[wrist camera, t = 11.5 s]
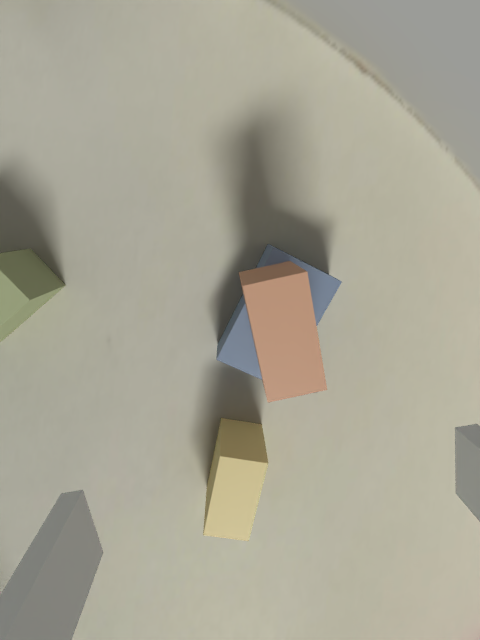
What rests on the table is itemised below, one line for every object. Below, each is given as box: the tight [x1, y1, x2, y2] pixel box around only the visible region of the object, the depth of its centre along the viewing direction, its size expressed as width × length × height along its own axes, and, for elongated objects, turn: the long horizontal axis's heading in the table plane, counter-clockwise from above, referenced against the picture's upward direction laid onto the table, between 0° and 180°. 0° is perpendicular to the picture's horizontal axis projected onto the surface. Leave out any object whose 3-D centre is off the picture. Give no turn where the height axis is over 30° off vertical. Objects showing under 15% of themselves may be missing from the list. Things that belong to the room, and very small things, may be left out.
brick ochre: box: [203, 418, 268, 541], centre depth 34 cm, size 8×4×6 cm, turn 169°
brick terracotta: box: [239, 261, 327, 402], centre depth 26 cm, size 8×4×6 cm, turn 12°
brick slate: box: [217, 244, 341, 380], centre depth 31 cm, size 10×6×4 cm, turn 154°
